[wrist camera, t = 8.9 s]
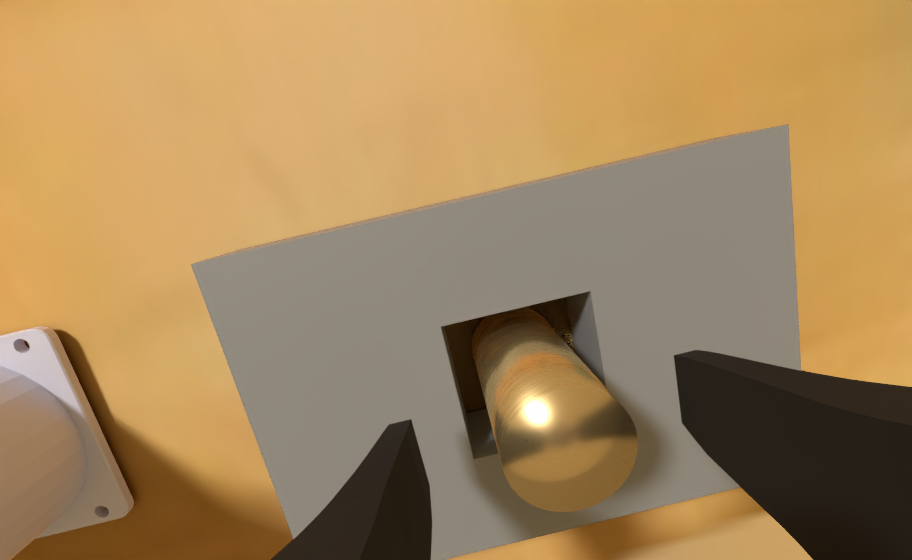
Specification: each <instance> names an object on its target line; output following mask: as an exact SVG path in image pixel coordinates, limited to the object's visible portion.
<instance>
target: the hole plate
mask: <svg viewBox="0 0 912 560" xmlns="http://www.w3.org/2000/svg"><path fill="white" fill-rule="evenodd" d="M191 266H192V269H193V271H194V274H195V277H196V279H197V282H198V285H199V287H200V290H201V293H202V295H203V298H204V301H205V303H206V306H207V309H208V311H209V314H210V317H211V320H212V322H213V325H214V328H215V330H216V333H217V336H218V338H219V341H220V344H221V346H222V349H223V352H224V354H225V357H226V360H227V362H228V365H229V368H230V371H231V373H232V376H233V379H234V381H235V384H236V387H237V389H238V392H239V395H240V397H241V400H242V403H243V405H244V408H245V411H246V413H247V416H248V419H249V421H250V424H251V427H252V430H253V432H254V435H255V438H256V440H257V443H258V446H259V448H260V451H261V454H262V456H263V459H264V462H265V464H266V467H267V470H268V472H269V475H270V478H271V480H272V483H273V486H274V489H275V491H276V494H277V497H278V499H279V502H280V505H281V507H282V510H283V513H284V515H285V518H286V521H287V523H288V526H289V529H290V531H291V534H292V537H293V539H294V538H295V537H297V536H298V535H299V534H300V533H301V532H302V531H303V530H304V529H305V528H306V527H307V526H308V525H309V524H310V523H311V522H312V521H313V520H314V519H315V518H316V517H317V516H318V514H319V513H320V512H321V511H322V510H323V509H324V508H325V507H326V506H327V505H328V504H329V502H330V501H331V500H332V499H333V498H334V497H335V495H336V494H337V493H338V492H339V490H340V489H341V488H342V487H343V485H344V484H345V483H346V482H347V481H348V479H349V478H350V477H351V476H352V474H353V473H354V472H355V471H356V469H357V468H358V467H359V465H360V464H361V463H362V461H363V460H364V458H365V457H366V456H367V454H368V453H369V452H370V450H371V449H372V447H373V446H374V445H375V443H376V442H377V440H378V439H379V437H380V436H381V434H382V433H383V432H384V430H385V429H386V428H387V426H388V425H389V424H393V423H397V422H401V421H406V420H410V419H411V420H412V424H413V427H414V431H415V435H416V438H417V442H418V445H419V449H420V452H421V456H422V460H423V463H424V467H425V470H426V474H427V478H428V481H429V485H430V497H431V510H432V543H431V560H445V559H449V558H453V557H457V556H461V555H466V554H470V553H474V552H478V551H482V550H486V549H490V548H494V547H498V546H502V545H506V544H511V543H515V542H519V541H523V540H527V539H531V538H535V537H539V536H543V535H547V534H552V533H556V532H560V531H564V530H568V529H572V528H576V527H580V526H584V525H588V524H592V523H597V522H601V521H605V520H609V519H613V518H617V517H621V516H625V515H629V514H633V513H637V512H642V511H646V510H650V509H654V508H658V507H662V506H666V505H670V504H674V503H678V502H682V501H687V500H691V499H695V498H699V497H703V496H707V495H711V494H715V493H719V492H723V491H727V490H732V489H736V488H740V486H739V485H738V484H737V483H736V482H735V481H734V480H733V479H732V478H731V477H730V476H729V475H728V474H727V473H726V472H725V471H724V470H723V469H721V468H720V467H719V466H718V465H717V464H716V463H715V462H714V461H713V460H712V459H711V458H710V457H709V456H708V455H707V454H706V452H705V451H704V450H703V449H702V448H701V446H700V445H699V444H698V443H697V442H696V440H695V439H694V438H693V437H692V435H691V434H690V433H689V431H688V430H687V429H686V428H685V426H684V425H683V424H682V420H681V411H680V403H679V395H678V387H677V379H676V371H675V362H674V355H677V354H681V353H685V352H689V351H694V350H701V351H709V352H715V353H720V354H725V355H730V356H735V357H739V358H744V359H748V360H753V361H758V362H762V363H767V364H771V365H776V366H781V367H786V368H790V369H795V370H800V371H801V360H800V341H799V321H798V302H797V283H796V263H795V244H794V225H793V205H792V186H791V167H790V147H789V128H788V124H787V125H782V126H777V127H772V128H766V129H761V130H756V131H751V132H745V133H740V134H735V135H730V136H724V137H719V138H715V139H711V140H706V141H702V142H698V143H694V144H689V145H685V146H681V147H676V148H672V149H668V150H664V151H659V152H655V153H651V154H647V155H642V156H638V157H634V158H630V159H625V160H621V161H617V162H612V163H608V164H604V165H600V166H595V167H591V168H587V169H583V170H578V171H574V172H570V173H566V174H561V175H557V176H553V177H548V178H544V179H540V180H536V181H531V182H527V183H523V184H519V185H514V186H510V187H506V188H502V189H497V190H493V191H489V192H484V193H480V194H476V195H472V196H467V197H463V198H459V199H455V200H450V201H446V202H442V203H437V204H433V205H429V206H425V207H420V208H416V209H412V210H408V211H403V212H399V213H395V214H391V215H386V216H382V217H378V218H373V219H369V220H365V221H361V222H356V223H352V224H348V225H344V226H339V227H335V228H331V229H327V230H322V231H318V232H314V233H309V234H305V235H301V236H297V237H292V238H288V239H284V240H280V241H275V242H271V243H267V244H263V245H258V246H254V247H250V248H245V249H241V250H237V251H234V252H230V253H227V254H224V255H220V256H217V257H214V258H210V259H207V260H204V261H200V262H197V263H194V264H191ZM564 297H565V298H566V303H567V309H568V315H569V320H570V326H571V332H572V337H573V343H574V349H575V354H576V355H577V356H578V357H579V358H580V359H581V360H582V362H583V363H584V364H585V365H586V366H587V367H588V368H589V369H590V370H591V372H592V373H593V374H594V375H595V376H596V377H597V378H598V379H599V380H600V382H601V383H602V384H603V385H604V386H605V387H606V388H607V389H608V391H609V392H610V393H611V394H612V395H613V396H614V397H615V398H616V399H617V401H618V402H619V403H620V404H621V405H622V406H623V407H624V409H625V410H626V411H627V412H628V414H629V415H630V417H631V419H632V420H633V423H634V425H635V428H636V432H637V438H638V450H637V456H636V460H635V463H634V466H633V469H632V470H631V472H630V474H629V476H628V478H627V479H626V481H625V482H624V483H623V484H622V486H621V487H620V488H619V489H618V490H617V491H616V492H615V493H613V494H612V495H611V496H610V497H608V498H607V499H606V500H604V501H602V502H600V503H599V504H596V505H594V506H592V507H589V508H586V509H583V510H579V511H573V512H553V511H547V510H544V509H540V508H538V507H535V506H533V505H531V504H529V503H528V502H526V501H524V500H523V499H522V498H521V497H519V496H518V495H517V494H516V493H515V491H514V490H513V489H512V488H511V486H510V485H509V483H508V481H507V479H506V477H505V475H504V471H503V468H502V464H501V460H500V457H499V453H498V449H497V445H496V441H495V437H494V434H493V430H492V426H491V422H490V418H489V414H488V410H487V408H486V409H482V410H478V411H474V412H470V413H466V411H465V406H464V402H463V398H462V394H461V390H460V386H459V382H458V378H457V374H456V370H455V366H454V362H453V358H452V354H451V350H450V346H449V341H448V337H447V333H446V329H445V326H446V325H450V324H454V323H458V322H463V321H467V320H471V319H475V318H479V317H484V316H488V315H492V314H496V313H500V312H505V311H509V310H513V309H517V308H522V307H526V306H530V305H534V304H538V303H543V302H547V301H551V300H555V299H559V298H564Z"/></svg>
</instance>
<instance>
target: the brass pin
mask: <svg viewBox="0 0 912 560" xmlns="http://www.w3.org/2000/svg"><path fill="white" fill-rule="evenodd" d="M472 352H473V357H474V361H475V364H476V368H477V372H478V376H479V380H480V384H481V387H482V391H483V395H484V399H485V403H486V407H487V410H488V414H489V418H490V422H491V426H492V430H493V434H494V437H495V441H496V445H497V449H498V453H499V457H500V460H501V464H502V468H503V471H504V475H505V477H506V479H507V481H508V483H509V485H510V486H511V488H512V489H513V490H514V491H515V493H516V494H517V495H518V496H519V497H521V498H522V499H523V500H524V501H526V502H528V503H529V504H531V505H533V506H535V507H538V508H540V509H544V510H547V511H553V512H573V511H579V510H583V509H586V508H589V507H592V506H594V505H596V504H599V503H600V502H602V501H604V500H606V499H607V498H608V497H610V496H611V495H612V494H613V493H615V492H616V491H617V490H618V489H619V488H620V487H621V486H622V484H623V483H624V482H625V481H626V479H627V478H628V476H629V474H630V472H631V470H632V469H633V466H634V463H635V460H636V456H637V450H638V438H637V432H636V428H635V425H634V423H633V420H632V419H631V417H630V415H629V414H628V412H627V411H626V410H625V409H624V407H623V406H622V405H621V404H620V403H619V402H618V401H617V399H616V398H615V397H614V396H613V395H612V394H611V393H610V392H609V391H608V389H607V388H606V387H605V386H604V385H603V384H602V383H601V382H600V380H599V379H598V378H597V377H596V376H595V375H594V374H593V373H592V372H591V370H590V369H589V368H588V367H587V366H586V365H585V364H584V363H583V362H582V360H581V359H580V358H579V357H578V356H577V355H576V354H575V353H574V351H573V350H572V349H571V348H570V347H569V346H568V345H567V344H566V343H565V341H564V340H563V339H562V338H561V337H560V336H559V335H558V334H557V332H556V331H555V330H554V329H553V328H552V327H551V326H550V325H549V324H548V322H547V321H546V320H545V319H544V318H543V317H542V316H541V315H540V314H539V313H537V312H536V311H535V310H533V309H531V308H528V307H522V308H517V309H513V310H509V311H505V312H500V313H496V314H492V315H488V316H485V317H484V318H483V319H482V320H481V321H480V322H479V324H478V325H477V327H476V329H475V331H474V334H473V338H472Z"/></svg>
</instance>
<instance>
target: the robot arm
mask: <svg viewBox="0 0 912 560" xmlns="http://www.w3.org/2000/svg"><path fill="white" fill-rule="evenodd" d="M24 340H25V341H27V342H28V344H29V347H30V348H28V347H27V346H26V345H25V342H24ZM674 362H675V371H676V379H677V387H678V395H679V403H680V411H681V420H682V424H683V425H684V426H685V428H686V429H687V430H688V431H689V433H690V434H691V435H692V437H693V438H694V439H695V440H696V442H697V443H698V444H699V445H700V446H701V448H702V449H703V450H704V451H705V452H706V454H707V455H708V456H709V457H710V458H711V459H712V460H713V461H714V462H715V463H716V464H717V465H718V466H719V467H720V468H721V469H723V470H724V471H725V472H726V473H727V474H728V475H729V476H730V477H731V478H732V479H733V480H734V481H735V482H736V483H737V484H738V485H739V486H740V487H741V488H742V489H743V490H744V491H745V492H747V493H748V494H749V495H750V496H751V497H752V498H753V499H754V500H755V501H756V502H757V503H758V504H759V505H760V506H761V507H762V508H763V509H764V510H765V511H766V512H768V513H769V514H770V515H771V516H772V517H773V518H774V519H775V520H776V521H777V522H778V523H779V524H780V525H781V526H782V527H783V528H785V530H786V531H787V532H788V533H789V534H790V535H791V536H792V537H793V538H794V539H795V540H796V541H797V542H798V543H799V544H800V545H801V546H802V547H803V548H804V550H805V551H806V552H807V553H808V554H809V555H810V556H811V558H812V559H813V560H912V387H905V386H897V385H889V384H881V383H873V382H865V381H858V380H851V379H845V378H839V377H833V376H828V375H822V374H816V373H811V372H805V371H800V370H795V369H790V368H786V367H781V366H776V365H771V364H767V363H762V362H758V361H753V360H748V359H744V358H739V357H735V356H730V355H725V354H720V353H715V352H709V351H701V350H694V351H689V352H685V353H681V354H677V355H674ZM103 506H104V507H106V508H107V509H108V510H107V509H105V508H104V507H103ZM133 506H134V500H133V497H132V495H131V493H130V491H129V489H128V487H127V484H126V482H125V480H124V478H123V476H122V474H121V471H120V469H119V467H118V465H117V463H116V461H115V458H114V456H113V454H112V452H111V450H110V448H109V445H108V443H107V441H106V439H105V437H104V435H103V432H102V430H101V428H100V426H99V424H98V422H97V419H96V417H95V415H94V413H93V411H92V409H91V406H90V404H89V402H88V400H87V398H86V396H85V393H84V391H83V389H82V387H81V385H80V382H79V380H78V378H77V376H76V374H75V372H74V369H73V367H72V365H71V363H70V361H69V359H68V356H67V354H66V352H65V350H64V348H63V346H62V343H61V341H60V339H59V337H58V335H57V334H56V332H55V331H54V330H52V329H51V328H48V327H45V326H38V327H34V328H30V329H25V330H21V331H17V332H13V333H8V334H4V335H0V560H11V559H12V558H14V557H15V556H16V555H17V554H18V553H19V552H20V551H22V550H23V549H24V548H25V547H26V546H27V545H28V544H30V543H31V542H32V541H33V540H34V539H37V538H41V537H45V536H49V535H54V534H58V533H62V532H66V531H70V530H74V529H78V528H83V527H87V526H91V525H95V524H99V523H103V522H108V521H112V520H116V519H120V518H122V517H125V516H126V515H127V514H128V512H129V511H130V510H131V509H132V508H133ZM431 543H432V510H431V497H430V485H429V481H428V478H427V474H426V470H425V467H424V463H423V460H422V456H421V452H420V449H419V445H418V442H417V438H416V435H415V431H414V427H413V424H412V420H411V419H410V420H406V421H401V422H397V423H393V424H389V425H388V426H387V428H386V429H385V430H384V432H383V433H382V434H381V436H380V437H379V439H378V440H377V442H376V443H375V445H374V446H373V447H372V449H371V450H370V452H369V453H368V454H367V456H366V457H365V458H364V460H363V461H362V463H361V464H360V465H359V467H358V468H357V469H356V471H355V472H354V473H353V474H352V476H351V477H350V478H349V479H348V481H347V482H346V483H345V484H344V485H343V487H342V488H341V489H340V490H339V492H338V493H337V494H336V495H335V497H334V498H333V499H332V500H331V501H330V502H329V504H328V505H327V506H326V507H325V508H324V509H323V510H322V511H321V512H320V513H319V514H318V516H317V517H316V518H315V519H314V520H313V521H312V522H311V523H310V524H309V525H308V526H307V527H306V528H305V529H304V530H303V531H302V532H301V533H300V534H299V535H298V536H297V537H295V538H294V539H293V540H292V541H291V542H290V543H289V544H288V545H287V546H285V547H284V548H283V549H282V550H281V551H280V552H279V553H277V554H276V555H275V556H274V557H273V558H272V559H271V560H431Z"/></svg>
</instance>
